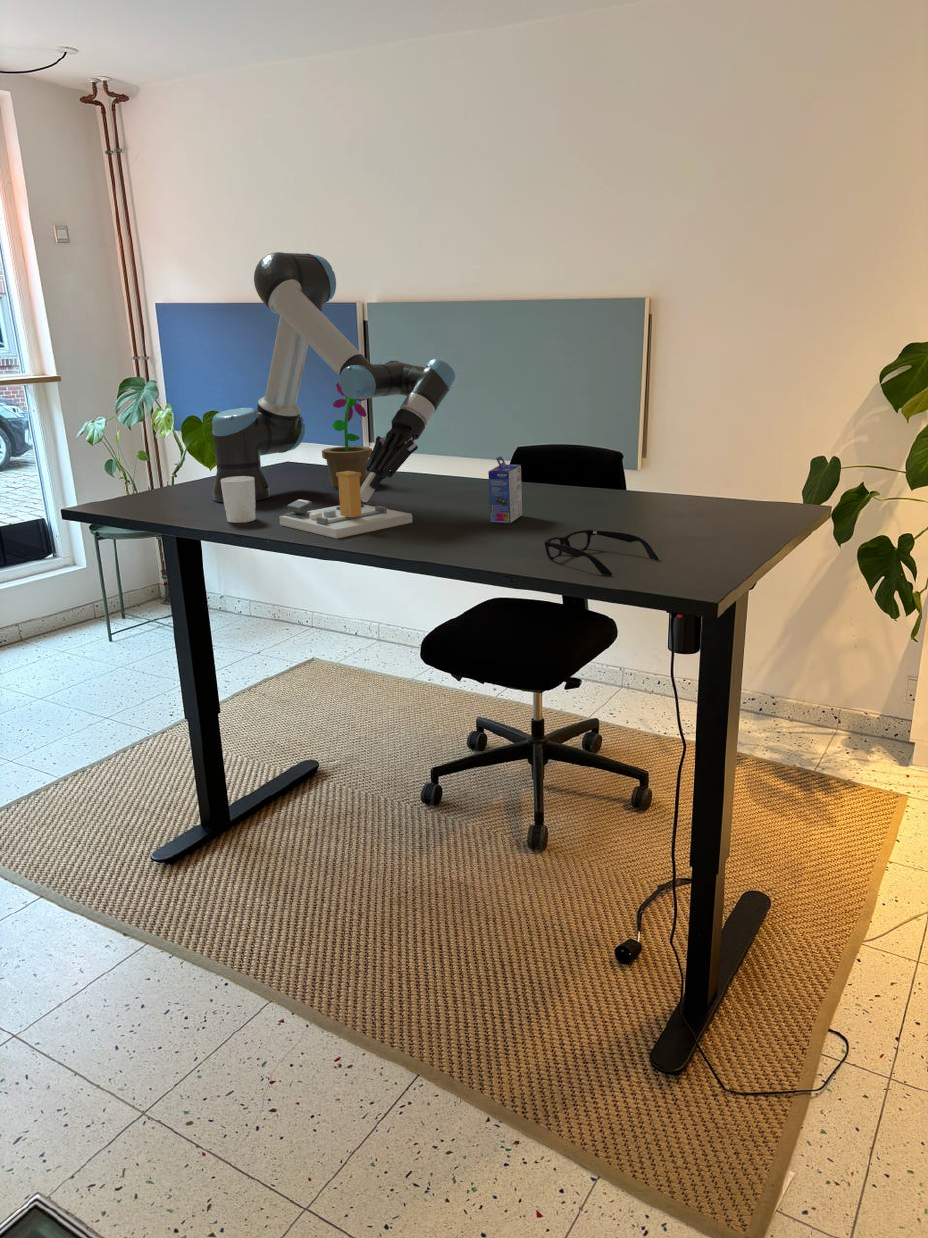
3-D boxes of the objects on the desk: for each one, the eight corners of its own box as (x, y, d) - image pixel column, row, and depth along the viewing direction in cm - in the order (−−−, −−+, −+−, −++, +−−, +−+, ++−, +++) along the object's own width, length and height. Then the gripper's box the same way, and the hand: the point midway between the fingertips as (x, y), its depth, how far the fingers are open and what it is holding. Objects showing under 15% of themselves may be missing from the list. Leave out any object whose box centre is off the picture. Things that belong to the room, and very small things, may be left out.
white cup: (264, 518, 223) (261, 477, 220) (244, 524, 216) (240, 482, 213) (238, 515, 226) (234, 475, 223) (217, 522, 220) (213, 480, 216)
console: (279, 524, 215) (277, 506, 214) (353, 510, 230) (352, 493, 228) (336, 538, 200) (335, 519, 199) (412, 522, 215) (411, 504, 213)
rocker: (288, 510, 215) (286, 504, 215) (300, 504, 217) (298, 498, 217) (301, 513, 212) (299, 507, 211) (313, 507, 214) (311, 501, 213)
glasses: (589, 551, 189) (589, 527, 188) (661, 561, 177) (661, 536, 175) (535, 566, 178) (534, 541, 177) (607, 579, 166) (607, 551, 164)
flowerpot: (382, 482, 270) (377, 377, 261) (357, 490, 258) (351, 380, 248) (340, 479, 276) (334, 376, 267) (314, 487, 263) (306, 379, 254)
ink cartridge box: (500, 514, 222) (500, 454, 217) (522, 515, 220) (522, 454, 215) (488, 522, 213) (487, 459, 208) (511, 523, 211) (510, 460, 206)
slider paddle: (338, 515, 211) (335, 472, 208) (351, 512, 213) (348, 470, 210) (350, 517, 208) (348, 474, 205) (363, 515, 210) (361, 472, 207)
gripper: (440, 429, 215) (389, 511, 209) (403, 426, 223) (353, 504, 218) (422, 408, 209) (369, 491, 203) (385, 405, 218) (334, 485, 212)
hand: (361, 498), depth 211 cm, fingers closed
